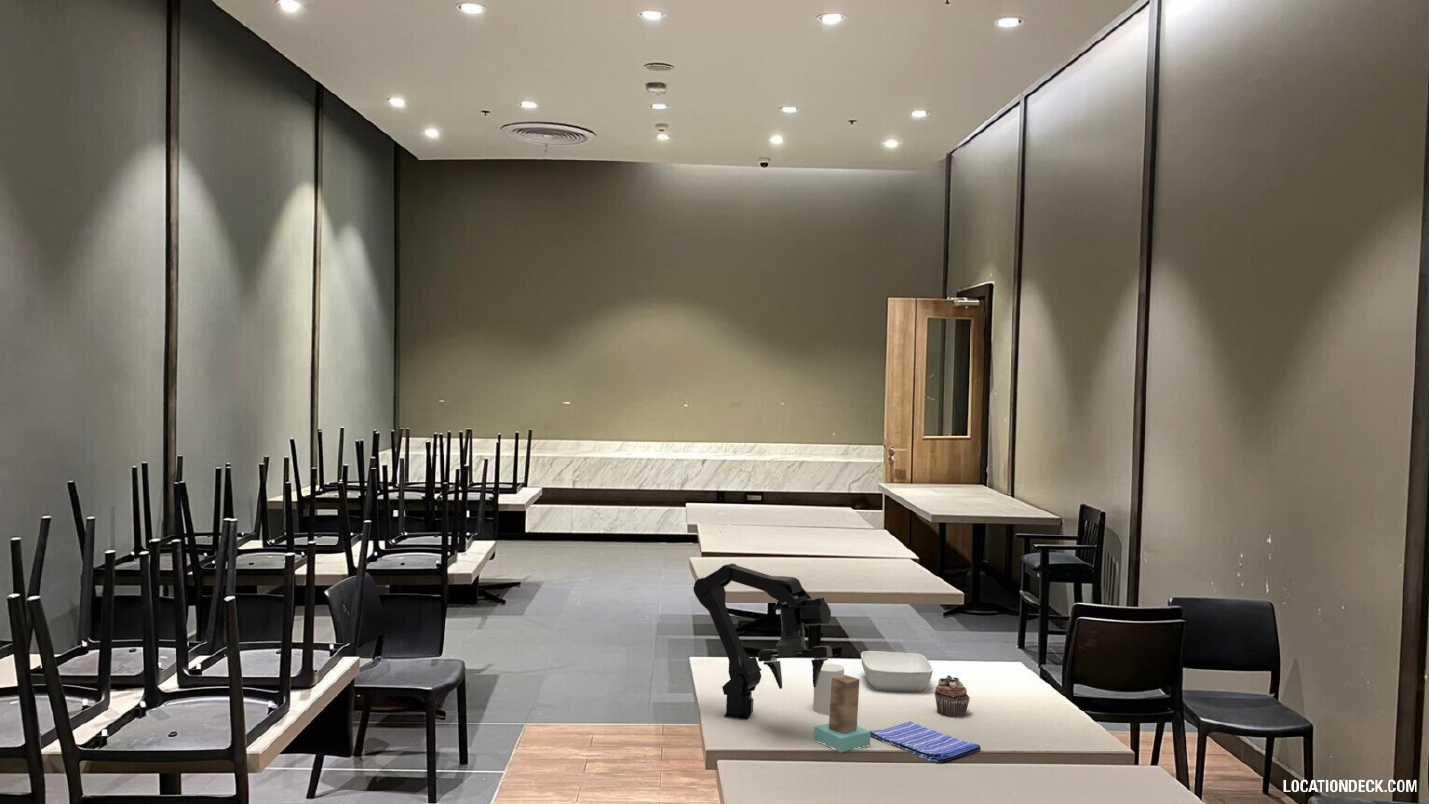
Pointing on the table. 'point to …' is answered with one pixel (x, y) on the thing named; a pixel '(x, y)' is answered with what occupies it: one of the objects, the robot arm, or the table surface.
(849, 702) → the walnut pillar
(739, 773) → the table surface
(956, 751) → the dish towel
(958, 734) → the table surface
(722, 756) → the table surface
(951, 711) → the cupcake
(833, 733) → the teal plinth
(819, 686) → the cup
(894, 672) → the square bowl
